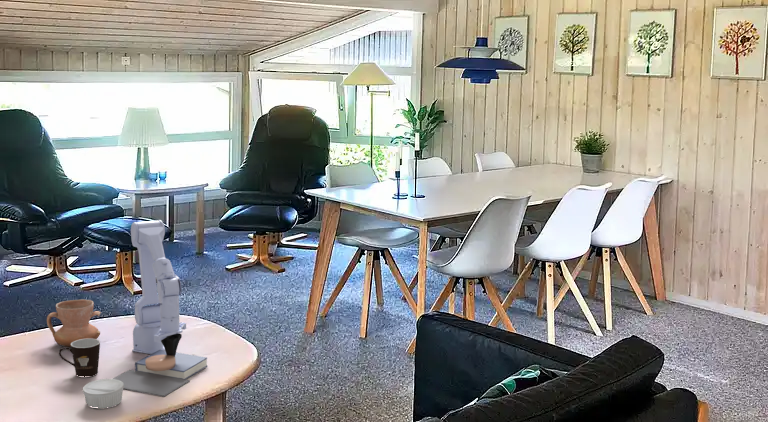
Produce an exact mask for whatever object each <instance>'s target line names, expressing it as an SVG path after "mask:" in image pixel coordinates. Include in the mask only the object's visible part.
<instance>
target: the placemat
mask: <svg viewBox="0 0 768 422" xmlns="http://www.w3.org/2000/svg"><path fill="white" fill-rule="evenodd" d="M112 379H116V380H120V381H122V382H123V384H124V388H123V390H125V389H127V391H131V390H132V391H131V392H136V391H137V392H138V393H143V394H148V395H151V396H152V395H153V396H158V397H166V396H169V395H170V394H171V393H173V392H174V391H177V390H178V389H179V388H181V387H183V386H184V385H186V384H188V383H189V382H190V379H180V378H175V377H169V376H163V375H158V374H152V373H147V372H141V371H135V369H129V370H126V371H124V372H123V373H121V374H119V375H117V376H114V377H113V378H112Z"/></svg>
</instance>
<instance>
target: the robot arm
mask: <svg viewBox="0 0 768 422" xmlns="http://www.w3.org/2000/svg"><path fill="white" fill-rule="evenodd" d="M165 234H166V228H165V224H164V222H163V221H162V220H161V219H158V220H149V221H134V222H132V223H131V225H130V236H131V237H130V238H131V243H132V246H133V247H135V248H137V253H138V259H139V271H140V282H141V291H142V292H141V293H142V296H141V297H140V298H139V299H138V300H137V301H136V302H135V303H134V321H135V323H136V325H134V327H133V330H132V340H133V341H132V345H133V348H132V350H131V351H132V352H135V353H142V354H147V355H151V354H152V353H154V352H156V351H158V350H165V351H166V354H167V355H171V356H174V357H175V355H176V352H177V350H178V346H179V343H180V341H181V339H182V337H183V336H182V335H183V334H182V333H183V331H184V330H186V329H187V322H180V296H181V294H182V283H181V280H180V279H181V278H180V277H179V276H178V275H177V274H176V273H175V271H174V268H173V265H172V262H171V260H170V259H169V258H166V254H165V250H164V245H163V241H164V237H165Z"/></svg>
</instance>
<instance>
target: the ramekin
mask: <svg viewBox="0 0 768 422" xmlns="http://www.w3.org/2000/svg"><path fill="white" fill-rule="evenodd" d="M123 388H124V384H123V382H122V381H120V380H116V379H113V378H101V379H97V380H92V381H90V382H87V383H86V384H85V385H83V387H82V393H83V396H84V400H85V403H87V404H88V405H89V406H92V407H98V408H107V407H112V406H115V405H117V404H118V405H119V404H121V402H122V400H123V393H124V389H123ZM87 404H86V405H87ZM88 405H87V406H88ZM118 405H117V406H118ZM89 406H88V407H89ZM115 407H116V406H115ZM112 408H113V407H112Z"/></svg>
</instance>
